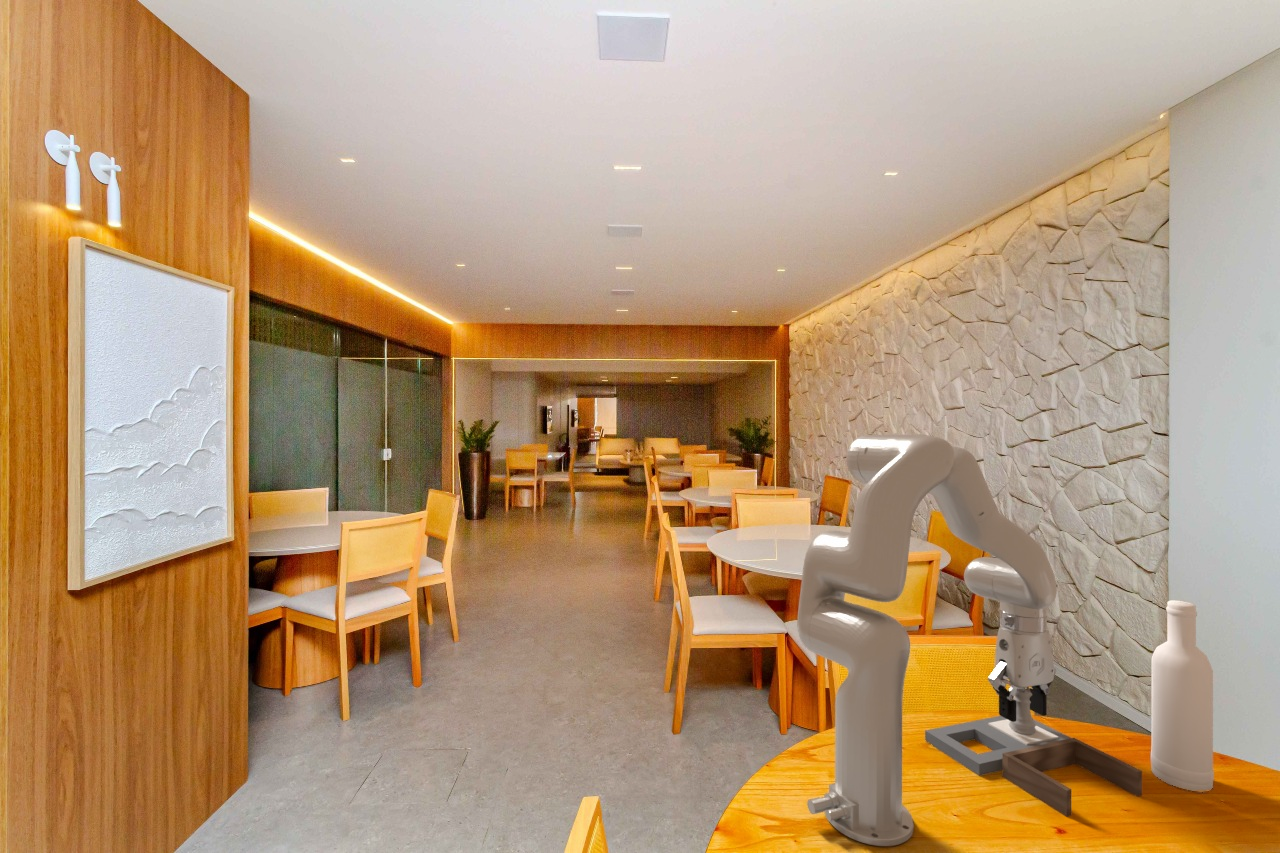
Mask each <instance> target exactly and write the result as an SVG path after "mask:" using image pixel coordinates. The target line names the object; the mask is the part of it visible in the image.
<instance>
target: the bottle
mask: <svg viewBox="0 0 1280 853" xmlns="http://www.w3.org/2000/svg"><path fill="white" fill-rule="evenodd" d="M1165 611H1166V612H1167V613H1166V617H1167V618H1166V619H1167V620H1166V621H1167V622H1166V624H1167V626H1166V628H1167V629H1166V630H1167V631H1166V635H1167V636H1166V638H1167V639H1166V641H1165V642H1162V643H1161V644H1159V645H1158V646H1156V648H1155V650H1154V651H1153V653H1152V656H1151V664H1150V665H1151V668H1150V669H1151V670H1150V672H1151V674H1150V675H1151V687H1150V688H1151V690H1150V691H1151V697H1150V698H1151V700H1150V701H1151V702H1150V703H1151V705H1150V706H1151V718H1150V721H1151V724H1150V725H1151V727H1150V728H1151V731H1150V732H1151V733H1150V734H1151V739H1150V740H1151V748H1150V750H1151V751H1150V763H1151V764H1150V766H1151V768H1150V770H1151V772H1152V774H1153V775H1154V776H1155V777H1156V778H1157V777H1158V778H1157V779H1159V780H1160V779H1161V780H1160V781H1162V782H1163V781H1164V783H1165V782H1166V784H1167V785H1170V786H1172V785H1173V786H1172V787H1174V786H1176V787H1175V788H1177V787H1180V788H1183V789H1187V790H1186V791H1188V790H1192V791H1207V790H1211V789H1212V788H1213V789H1214V779H1215V776H1214V775H1215V773H1214V757H1213V756H1214V670H1213V668H1212V665H1211V663H1210V661H1209V659H1208V656H1207V655H1206V654H1205V653H1204V652H1203V651H1202V650H1201V649H1200V648H1199V647H1198V646H1197V645H1196V644H1197V642H1196V641H1197V636H1196V634H1197V625H1196V624H1197V619H1196V618H1197V616H1198V613H1197V607H1196V605H1195V604H1194V603H1193V602H1188V601H1184V600H1183V601H1182V600H1177V599H1175V600H1174V599H1172V600H1171V599H1170V600H1168V601H1167V604H1166V607H1165ZM1180 788H1179V789H1180ZM1183 789H1182V790H1183ZM1213 789H1212V790H1213ZM1212 790H1211V791H1212ZM1192 791H1191V792H1192Z"/></svg>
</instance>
